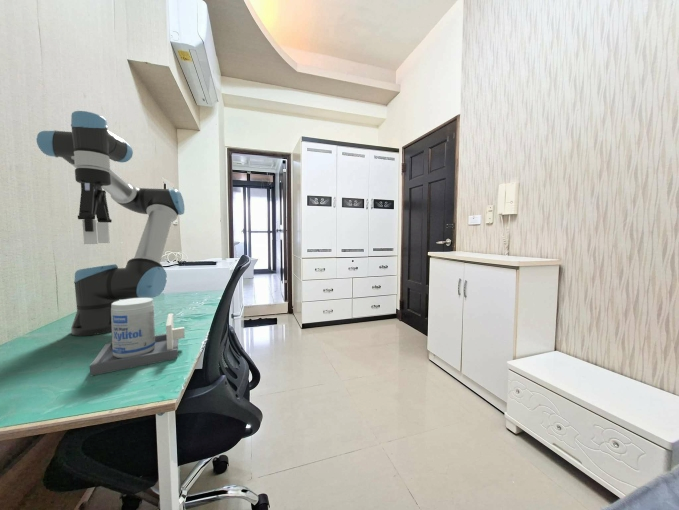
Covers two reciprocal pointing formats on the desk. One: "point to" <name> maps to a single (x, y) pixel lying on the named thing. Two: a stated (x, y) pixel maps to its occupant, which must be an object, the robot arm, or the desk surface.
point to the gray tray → (111, 363)
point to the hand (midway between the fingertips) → (98, 243)
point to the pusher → (173, 332)
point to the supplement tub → (132, 327)
